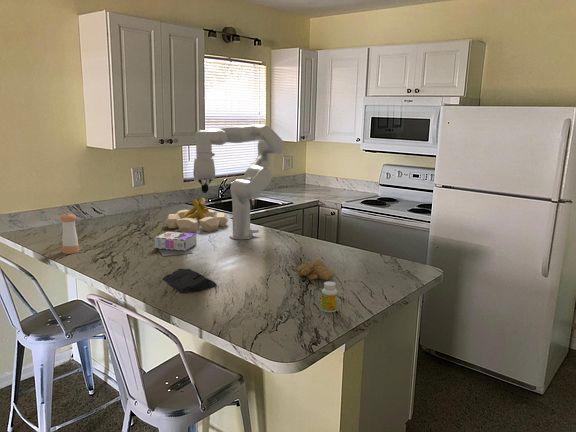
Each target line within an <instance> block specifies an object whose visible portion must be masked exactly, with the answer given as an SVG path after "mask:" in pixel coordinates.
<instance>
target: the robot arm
mask: <svg viewBox="0 0 576 432" xmlns="http://www.w3.org/2000/svg"><path fill="white" fill-rule="evenodd" d="M256 141H257V157H256V159H254V161H252V163H251V164H250V165H249V167H248V168H247V169H246V170H245V172H244V179H242V178H237V179H235V180H233V181H232V183H231V184H230V195H231V200H232V201H231V202H232V204H231V205H232V206H231V207H232V233H230V234H229V237H230V239H233V240H240V241H241V240H242V241H243V240H249V239H250V240H251V239H252V238H253V237H254V234H255V233H256V234H258V233H260V232H259V231H260V230H259V229H258V228H257V229H256V228H251V202H250V200H255V199H257V198H258V197H259V196H260V195H261V193H263V191H264V190H265V189H266V188H267V187H268V186H269V184H270V183H271V181H272V179H273V177H272V176H273V175H272V173H273V172H272V171H271V170H270V169H269V168H270V167H271V164H272V157H271V154H272V155H280V154H281V153H283V152H284V149H285V142H284V141H283V139H282V138H281V137H280V136H279V135H278V133H276V132H275V131H274V130H273V128H271V127H270V126H269V125H266V124H248V125H241V126H240V125H239V126H230V127H229V126H228V127H219V128H218V127H217V128H208V129H204V130H203V129H201V130H197V131H196V132H195V148H196V149H195V152H196V153H195V154H196V155H195V156H196V158H194V161H193V173H192V174H193V182H197V183H199V184H200V185H201V186H200V187H201V192H202V193H203V194H208V191H209V185H210V184H211V182H214V181H216V170H215V169H216V168H215V161H214V158H213V157H215V153H214V152H212V151H213V150H212V149H213V148H212V147H213V145H215V146H223V145H224V144H226V143H231V144H232V143H233V144H240V143H250V142H256Z"/></svg>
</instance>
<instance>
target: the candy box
mask: <svg viewBox="0 0 576 432" xmlns="http://www.w3.org/2000/svg"><path fill="white" fill-rule="evenodd" d="M197 243H198V241H197V233H196V232H193V233H184V232H181V231H180V232H178V231H166V232H164V233H161V234H159V235H157V236H155V237H154V249H157V250H158V249H166V250H178V251H186V250H188V249H191V248H193V247H194V246H195V245H197Z"/></svg>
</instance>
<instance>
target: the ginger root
mask: <svg viewBox="0 0 576 432" xmlns="http://www.w3.org/2000/svg"><path fill="white" fill-rule="evenodd" d="M293 268H294V270H295V271H297V272H298V275H299V276H306V277H307V279H308V280H310V281H313V280H317V279H318V280H321V281H329V280H330V279H333V278H334V277H335V271H334V270H330V268H328V267H327V265H326V264H325V263H324V262H323V261H322V259H320V258H317V259H314V260H313V261H312V262H310V261H304V262H302V263H301V264H300V265H299V266H295V267H293Z"/></svg>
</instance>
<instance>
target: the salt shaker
mask: <svg viewBox="0 0 576 432" xmlns="http://www.w3.org/2000/svg"><path fill="white" fill-rule="evenodd" d="M59 220H60V221H61V222H62V224H61V226H62V236H61V237H62V239H61V240H62V246H61V248H62V254H64V255H65V254H66V255H70V254H77V253H79V252H80V245H79V243H78V234H77V230H76V221H77V216H76V215H75V214H74V213H70V212H66V213H64V214H62V215H61V216H60V218H59Z"/></svg>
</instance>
